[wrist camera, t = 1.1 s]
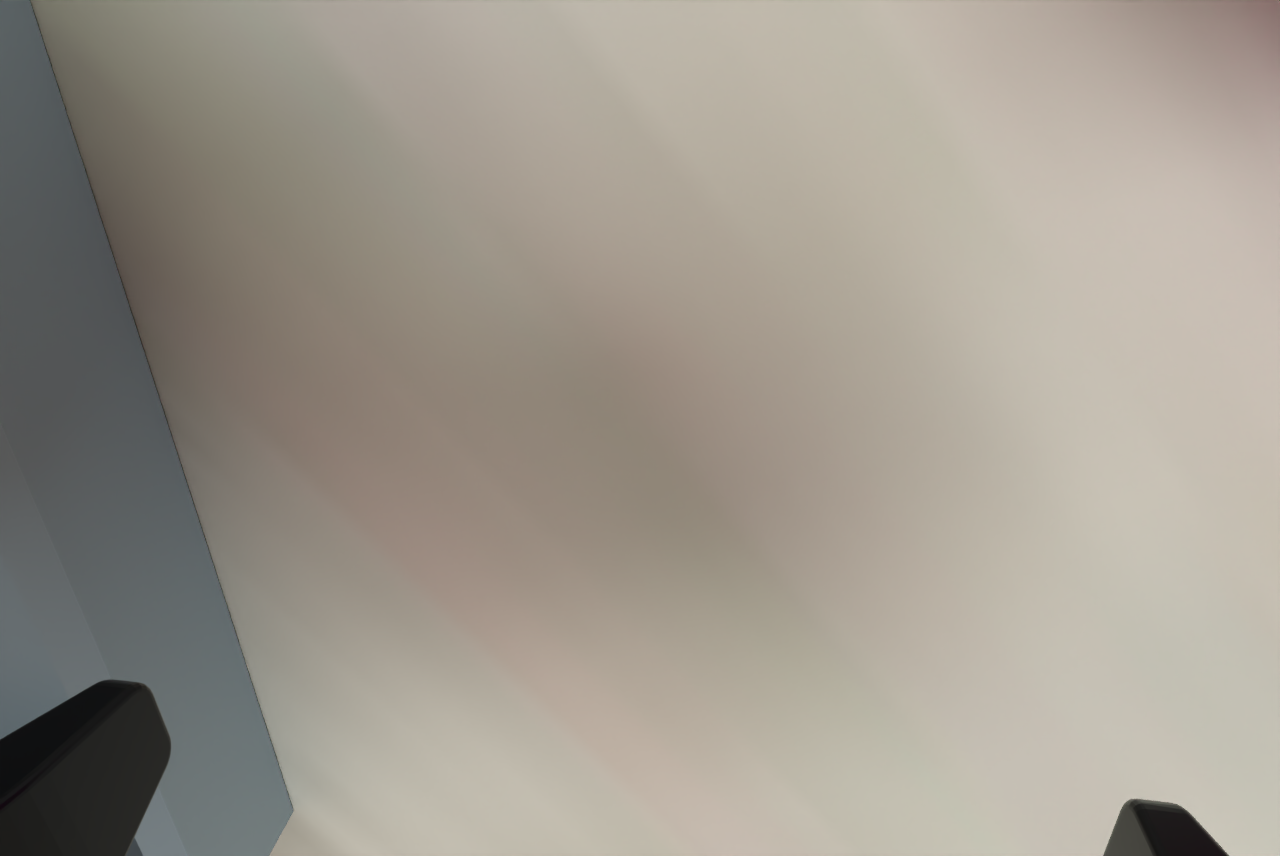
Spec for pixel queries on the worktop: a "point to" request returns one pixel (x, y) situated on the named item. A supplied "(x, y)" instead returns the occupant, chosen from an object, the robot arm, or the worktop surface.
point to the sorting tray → (106, 497)
